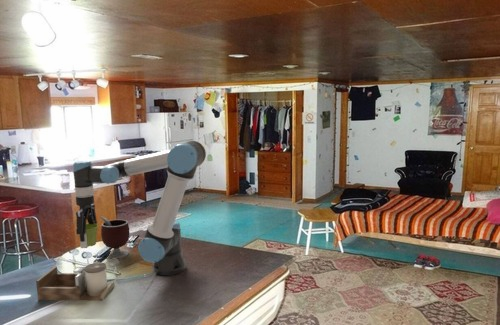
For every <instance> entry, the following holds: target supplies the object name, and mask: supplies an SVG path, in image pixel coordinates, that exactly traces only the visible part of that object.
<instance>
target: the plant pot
mask: <svg viewBox="0 0 500 325" xmlns="http://www.w3.org/2000/svg"><path fill="white" fill-rule="evenodd" d="M98 228H99V224H98V223H97V224H89V223H86V230H85V234H86V236H87V248H89V247H93V246H95V245H96V244H97V233H98ZM75 230H76V231H77V226H76V227H75ZM78 236H79V237H78V238H80V235H79V234H78Z"/></svg>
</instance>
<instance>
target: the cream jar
mask: <svg viewBox="0 0 500 325" xmlns="http://www.w3.org/2000/svg"><path fill="white" fill-rule="evenodd" d="M84 267H85V273H86V286H87V295H89V296H99V295H100V294H101V293H102V292H103V291H104V290H105V288H106V287H107V285H108V277H107V264H106V263H105V262H93V263H90V264H88V265H86V266H84Z"/></svg>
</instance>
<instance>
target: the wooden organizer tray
mask: <svg viewBox="0 0 500 325" xmlns="http://www.w3.org/2000/svg"><path fill="white" fill-rule="evenodd" d="M78 274H79V273H74V272H70V273H69V272H58V266H54V267H52V268H51V269H50V270H48V271H47V272H45V273H44V274H43V275H41V276H40V277H39V278H38V279H37V280H36V281H35V283H36V293H37V294H36V296H37V302H39V301H91V302H92V301H94V302H95V301H97V302H101V301H103V300H104V299H105V298H106V296H107V295H108V294H109V293H110V291H111V290H113V288H114V287H115V285H116V284H115V281H112V280H111V281H110V282H109V284H107V287H106V288H105V290H104V291H103V292H102V293H101V294H100V295H99V296H89V295H87V291H86V292H85V293H84V294H83V295H82V296H81V295H80V287H76V282H75V276H76V275H78Z"/></svg>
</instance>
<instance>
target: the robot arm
mask: <svg viewBox="0 0 500 325" xmlns="http://www.w3.org/2000/svg"><path fill="white" fill-rule="evenodd" d="M206 157H207V152H206V149H205V147H204V145H203V144H202V143H201V142H198V141H196V140H189V141H185V142H180V143H178V144H176V145H174V146H173V147H172V148H171V149H168V150H163V151H159V152H155V153H150V154H145V155H142V156H137V157H134V158H128V159H123V160H119V161H115V162H112V163H108V164H105V165H92V161H90V160H77V161H75V162H74V163H73V166H72V168H73V171H72V173H73V178H74V179H73V180H74V191H75V192H74V193H75V205H76V206H79V209H78V210H79V211H75V214H76V227H77V230H76V235H78V236H79V235H80V237H79V244H80V249H87V248H88V247H87V236H86V234H85V230H86V224H98V221H97V215H96V204H95V196H94V192H95V191H94V184H107V185H108V184H116V183H117V182H118V180H119V179H120V178H121V179H122V178H125V177H130V176H133V175H139V174H144V173H147V172H152V171H153V172H154V171H157V170H162V169H166V172H167V174H168V176H167V179H166V182H165V186H164V187H163V191H162V195H161V196H160V200H159V203H158V206H157V210H156V212H155V216H154V219H153V221H152V223H151V224H150V225H148V226H147V229H146V233H145V235H144V237H143V238H142V239H141V240H140V241H139V243H138V246H137V250H138V254H139V255H140V257H141V258H142V259H143V260H144V261H146V262H148V263H152V264H153V265H152V272H153V273H155V274H156V275H158V276H173V275H178V274H180V273H183V272H184V271H185V270H186V262H185V258H184V256H183V253H182V238H181V234H182V232H181V224H180V223H179V222H178V221H176V218H177V216H178V212H179V209H180V207H181V204H182V201H183V198H184V195H185V192H186V189H187V186H188V183H189V181H191V180H193V179H194V177H195V174H196V171H197V168H198V167H199V166H201V165H202V164H203V163H204V161H205V160H206Z"/></svg>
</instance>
